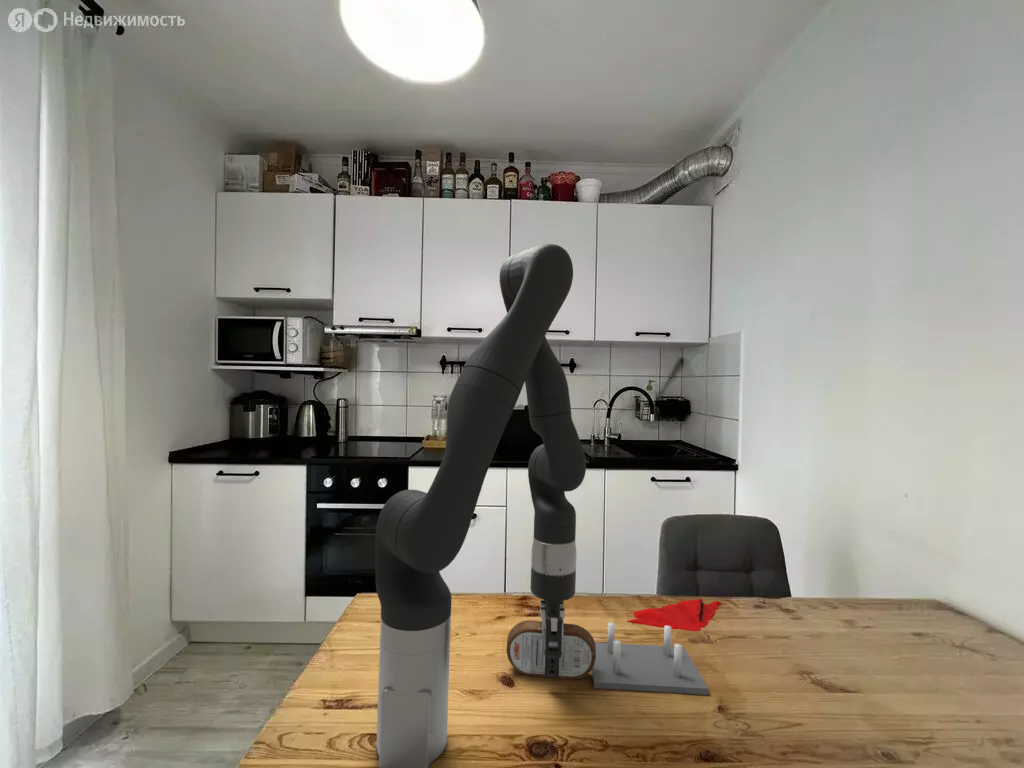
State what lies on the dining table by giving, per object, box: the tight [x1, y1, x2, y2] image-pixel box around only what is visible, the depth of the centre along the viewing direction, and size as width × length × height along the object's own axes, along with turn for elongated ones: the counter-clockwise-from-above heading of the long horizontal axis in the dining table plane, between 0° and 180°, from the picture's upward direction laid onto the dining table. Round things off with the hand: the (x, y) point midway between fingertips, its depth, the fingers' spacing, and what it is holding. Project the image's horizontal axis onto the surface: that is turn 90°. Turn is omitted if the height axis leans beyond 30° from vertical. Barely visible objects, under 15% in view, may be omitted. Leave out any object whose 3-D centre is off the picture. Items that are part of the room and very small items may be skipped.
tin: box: [506, 619, 596, 681], centre depth 79 cm, size 15×3×8 cm, turn 84°
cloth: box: [626, 598, 722, 632], centre depth 102 cm, size 26×14×2 cm, turn 101°
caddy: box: [590, 621, 709, 696], centre depth 82 cm, size 12×18×6 cm, turn 87°
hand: (550, 661), depth 80 cm, fingers open, 8 cm apart
